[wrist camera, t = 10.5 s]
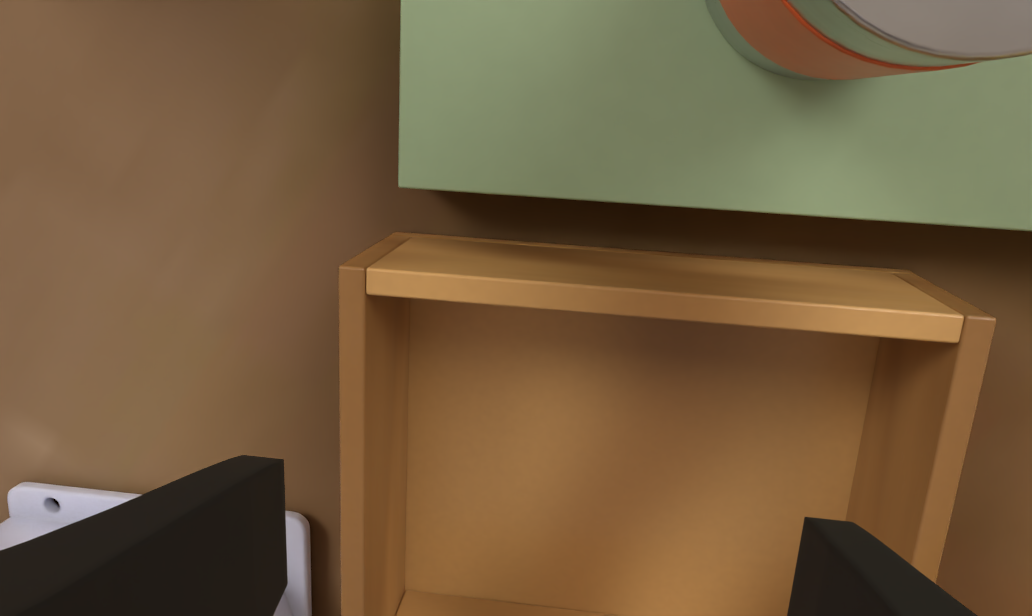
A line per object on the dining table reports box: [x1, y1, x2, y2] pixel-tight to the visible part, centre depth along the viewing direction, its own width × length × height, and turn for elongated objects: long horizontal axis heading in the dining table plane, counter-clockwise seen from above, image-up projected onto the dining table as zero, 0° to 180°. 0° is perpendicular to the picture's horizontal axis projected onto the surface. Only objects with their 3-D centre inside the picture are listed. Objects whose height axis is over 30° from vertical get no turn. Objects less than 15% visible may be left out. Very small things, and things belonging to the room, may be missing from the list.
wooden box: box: [338, 232, 996, 616], centre depth 19 cm, size 13×11×4 cm
